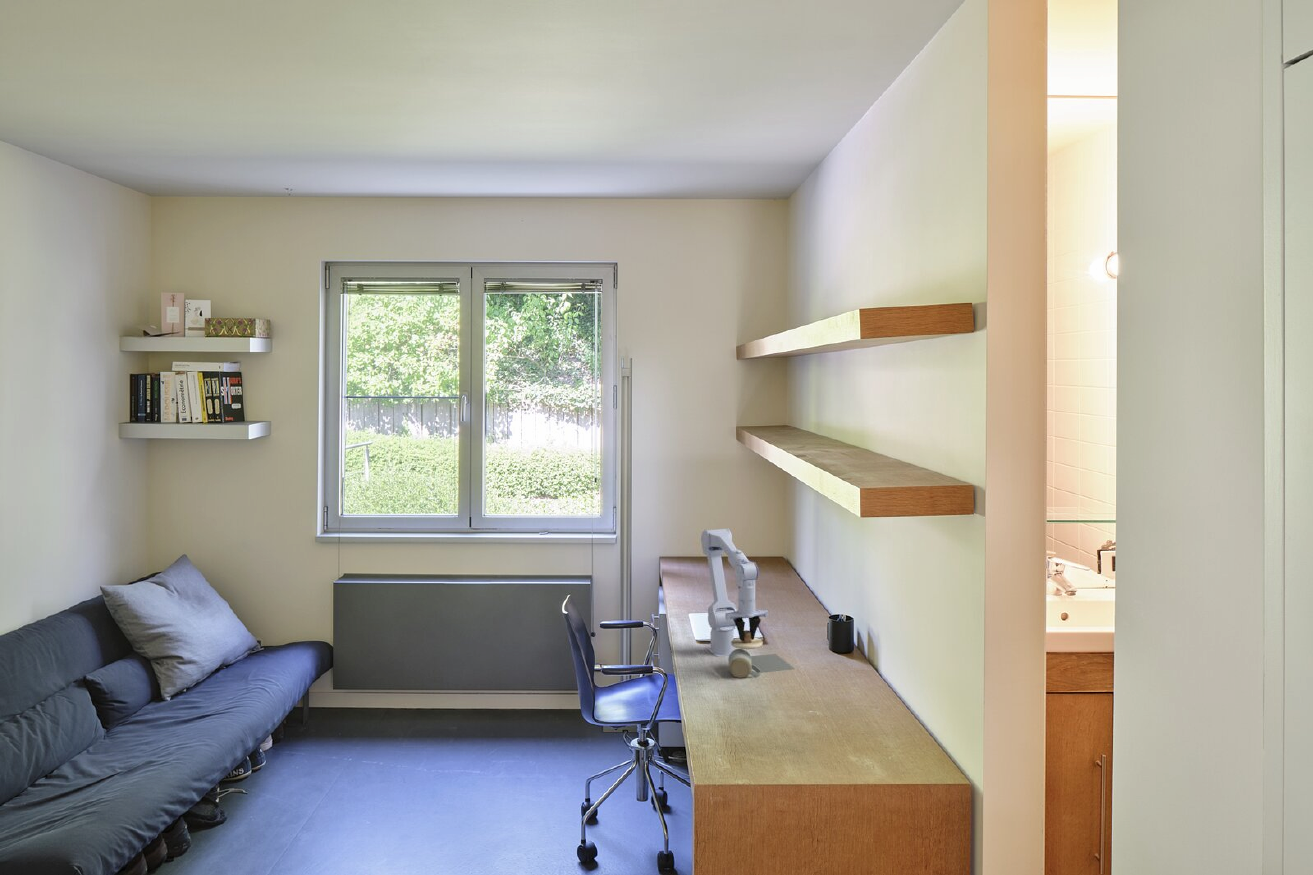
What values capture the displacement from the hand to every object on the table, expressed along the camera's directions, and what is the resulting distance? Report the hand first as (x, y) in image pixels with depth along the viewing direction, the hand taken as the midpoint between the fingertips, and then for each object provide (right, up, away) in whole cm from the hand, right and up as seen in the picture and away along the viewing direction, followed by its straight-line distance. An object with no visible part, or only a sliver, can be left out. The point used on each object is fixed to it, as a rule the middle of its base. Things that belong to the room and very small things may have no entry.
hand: (746, 639), depth 273 cm
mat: (+8, -10, +7) cm, 14 cm away
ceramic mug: (-1, -11, -4) cm, 12 cm away
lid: (0, -2, 0) cm, 2 cm away
